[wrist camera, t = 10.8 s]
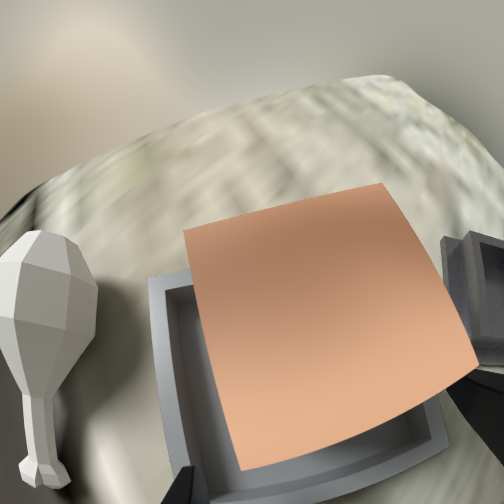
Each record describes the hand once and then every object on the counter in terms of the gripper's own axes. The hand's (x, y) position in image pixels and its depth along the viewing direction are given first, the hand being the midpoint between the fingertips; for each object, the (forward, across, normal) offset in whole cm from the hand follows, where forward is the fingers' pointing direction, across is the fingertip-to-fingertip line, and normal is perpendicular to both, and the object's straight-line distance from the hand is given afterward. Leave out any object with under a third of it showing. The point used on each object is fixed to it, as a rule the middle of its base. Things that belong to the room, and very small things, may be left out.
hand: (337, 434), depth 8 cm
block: (+8, 0, +3) cm, 8 cm away
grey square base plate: (+7, -17, +5) cm, 19 cm away
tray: (+8, 0, +4) cm, 9 cm away
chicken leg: (+11, +16, +2) cm, 19 cm away
